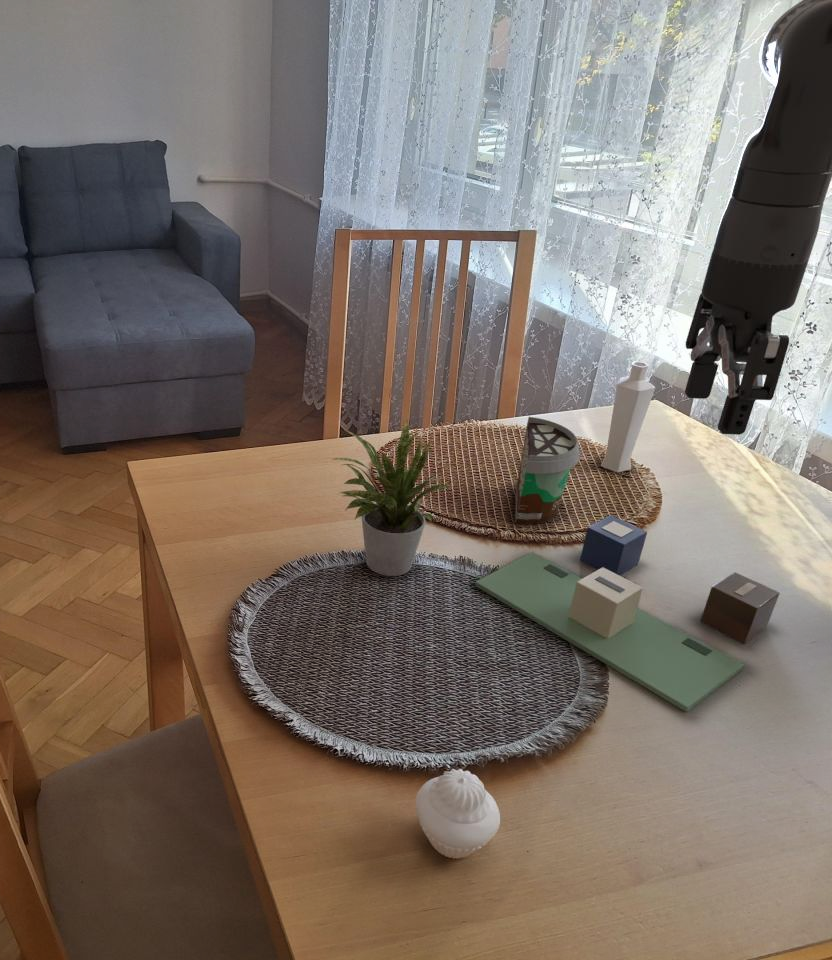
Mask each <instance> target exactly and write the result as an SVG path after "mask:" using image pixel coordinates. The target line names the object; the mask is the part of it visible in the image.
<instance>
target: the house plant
mask: <svg viewBox="0 0 832 960" xmlns="http://www.w3.org/2000/svg"><path fill="white" fill-rule="evenodd" d="M342 429H343V428H342ZM343 431H345V432H346V433H349V434H350V435H352V436H353V437H355V439H357V440H358V441H359V442H360V443H361V444H362V446H363V447H364V449H365V450H366V453H367V454H368V457H369V458H370V460H371V463H372V464H373V466H374V468H375V470H376V472H377V474H378V476H377V475H375V474H374V472H373V471H372V470H370V468H369V467H368V466H366V465H365V464H364V463H362V462H360V461H358V460H356V459H353V458H347V457H345V458H344V457H336V458H332V461H333V460H334V461H344V462H351V463H354V464H351V463H343V464H341V466H346V467H348V468H349V469H350V470H352V471H353V472H354V473H355V475H356V476H357V477H354V478H350V479H348V480H346V481H345V482H344V483H343V485H342V486H344V485H357V486H362V487H363V488H364V489H365V490H360V489H359V490H358V489H351V490H347V491H341V492H340V494H344V495H342V497H346V498H347V497H349V498H354V499H353V500H352V501H350V503H349V504H348V506H347V507H346V508H345V510H344V512H346V511H347V510H348V509H354V508H358V510H357V511H356V515H355V517H354V520H356V519H357V518H360V517H361V524H362V525H361V526H362V534H363V545H364V554H365V564H366V566H367V568H369V569H370V570H371V571H372V572H374V573H376V574H378V575H382V576H387V577H398V576H402V575H405V574H407V573H408V572H409V571H410V570H411V569H412V566H413V563H414V560H415V557H416V553H417V551H418V548H419V544H420V541H421V538H422V535H423V532H424V529H425V526H426V522H427V521H426V519H428V520H429V522H430V523H431V524H433V521H432V520H433V517H434V516H433V515H432V514H431V513H422V511H420V510H419V509H421V503H420V502H419V500H420V499H422V498H423V497H424V496H425V495H427V494H430V493H431V492H434V491H438V490H440V489H447V488H448V489H450V490H451V489H452V490H453V488H452V487H451V486H450V485H447V484H436V485H432V486H430V487H428V488H427V489H424V488H425V486H426V485H428V484H429V483H430V482H432V481H434V482H435V481H437V482H438V481H440V482H444V481H443V479H442V478H439V477H437V478H433V477H434V476H436V475H437V474H438V473H439V472H441V471H442V470H443V469H445V468H447V467H448V466H449V465H450V464H452V462H451V463H449V464H446V465H445V466H443V467H441V468H439V469H438V470H437V471H436V472H434V473H433V475H430V477H428V478H427V479H426V480H425V481H423V482H422V483H420V484H418V485H416V483H417V481H418V478H419V476H420V474H421V472H422V470H423V468H424V466H425V464H426V462H427V459H428V455H429V450H430V444H431V443H430V440H429V441H428V443H427V444H426V446H425V448H424V450H423V446H424V445H423V443H424V439H423V438H424V437H423V436H421V437H420V439H419V442H418V445H417V446H416V448H415V452H414V456H413V459H412V461H411V463H410V466H409V468H408V469H407V468H405V467H406V462H407V458H408V455H409V453H410V450H411V447H412V445H413V443H414V439H415V438H416V437H417V435H418V432H416V433H414V434H412V435H411V436H410V422H409V419H407V420H406V421H405V423H404V425H403V427H402V429H401V434H400V437H399V441H398V445H397V449H396V453H395V454H396V463H395V464H396V467H394V464H393V462H392V461H391V460H390V458H389V457H388V455H386V454H385V453H384V452H382V453H381V454H380V456H381V459H380V456H379V454H378V452H377V450H376V448H375V447H374V446H373V445H372V443H370V442H369V441H367V440H366V439H363V438H362V437H361V436H359V435H358V434H357V433H354V432H352V431H349V430H346V429H343ZM422 450H423V452H422ZM355 464H358V465H360V466H361V467H364V468H366V469H367V470H368V471H369V472H370V473H371V474H372V475H373V477H372V478H371V477H370V476H369V474H368V473H367V472H366V471H365V470H364V469H362V468H361V467H359V466H357V465H355ZM355 467H356V468H355ZM357 468H358V469H360V470H361V471H362V472H363V473H364V474H365V476H366V477H367V479H368V480H369V481H367V480H366V478H365V477H364V475H363V473H361V472H360V470H358V469H357ZM373 478H375V479H376V480H377V481H378V482H379V484H380V485H381V487H382V488H383V491H384V493H383V492H380V491H379V489H378V488H377V486H376V484H375V483H374V482H373V481H372V479H373ZM432 478H433V479H432ZM430 479H431V480H430ZM415 485H416V486H415ZM423 489H424V490H423ZM422 490H423V491H422ZM421 491H422V492H421ZM419 493H420V494H419Z"/></svg>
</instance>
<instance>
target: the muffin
mask: <svg viewBox="0 0 832 960" xmlns="http://www.w3.org/2000/svg"><path fill="white" fill-rule="evenodd" d="M414 801H415V802H414V806H415V811H416V815H417V820H418V822H419V826H420V827H421V829H422V832H423V833H424V835H425V836H426V838H427V839H428V841H429V843H430V844H431V846H432V847H433V848H434V850H435V851H436V852H437V853H439V854H440V855H441V856H445V857H446V858H448V859H451V858H452V859H453V860H454V859H457V860H459V859H463V858H466V857H468V856H470V855H472V854H474V853H475V852H477V851H479V850H481V848H483V847H485V846H486V845H487V844H488V843H489V842H490V841H491V839H493V837H494V836H495V835H496V834H497V832H498V831H499V829H500V825H501V813H500V810H499V806H498V804H497V802H496V800H495V799H494V797H493V795H491V793H489V792H488V790H486V789H485V785H484V783H483V782H482V780H480V779H479V777H478V776H477V775H476V774H474V773H471V771H469V770H464V769H462V768H459V769H457V770H456V769H455V768H451V769H450V771H449V770H444V771H443V774H442V775H439V776H437V777H433V778H430V779H429V780H427V781H426V782H425V783H423V785H422V786H421V787H420V788H419V790H418V792H417V793H416V796H415V800H414Z"/></svg>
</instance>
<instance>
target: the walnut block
mask: <svg viewBox="0 0 832 960" xmlns="http://www.w3.org/2000/svg"><path fill="white" fill-rule="evenodd" d="M780 594H781V593H780V591H778V590H775V589H773V588H771V587H769V586H766V585H764V584H762V583H760V582H757V581H756V580H754V579H751V578H749V577H746V576H745V575H743V574H740V573H738V572H736V571H734V572H732V573H730V574H729V575H727V576H726V577H724V578H723V579H721V580H720V581H718V582H716V583H715V584H714V585H712V586H711V587H710V590H709V593H708V597H707V600H706V603H705V606H704V609H703V611H702V614H701V617H700V620H699V622H700V623H702V624H704V625H705V626H708V627H710V628H712V629H714V630H716V631H717V632H720V633H722V634H724V635H725V636H727V637H729V638H731V639H733V640H735V641H736V642H739V643H741V644H743V645H745V644H746V643H749V641H751V640H752V639H753V638H755V637H756V636H757V635H759V634H760V633H761V632H762V631H764V630H765V629H766V628H768V625H769V622H770V620H771V617H772V615H773V613H774V612H773V611H774V609H775V607H776V604H777V601H778V599H779V596H780Z"/></svg>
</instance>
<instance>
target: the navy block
mask: <svg viewBox="0 0 832 960" xmlns="http://www.w3.org/2000/svg"><path fill="white" fill-rule="evenodd" d="M647 535H648V531H646V530H644V529H642V528H640V527H638V526H635V525H633V524H631V523H630V522H627V521H624V520H622V519H620V518H618V517H616V516H614V515H611V514H610V515H608V516H607V517H604V518H602V519H601V520H599V521H597V522H595V523H593V524H591V525H589V526H588V527H587V528H586V533H585V537H584V541H583V545H582V549H581V554H580V558H579V560H580V561H581V562H583V563H585V564H587V565H589V566H591V567H593V568H595V569H596V570H599V569H600V568H602V567H603V568H605V569H607V570H609V571H611V572H613V573H615V574H617V575H619V576H621V575H624V574H625V573H626V572H628V571H630V570H632V569H633V568H635V567H637V566H638V565H639V563H640V560H641V556H642V553H643V549H644V545H645V542H646V538H647Z"/></svg>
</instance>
